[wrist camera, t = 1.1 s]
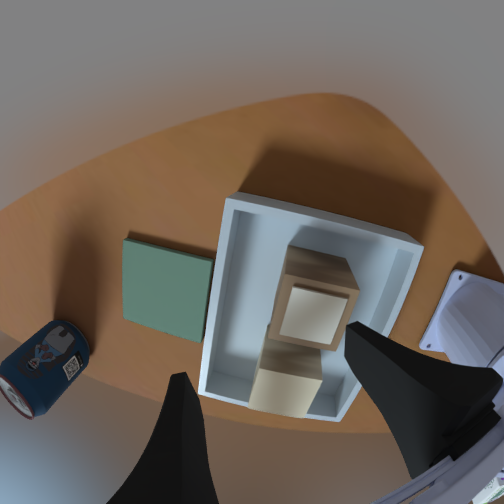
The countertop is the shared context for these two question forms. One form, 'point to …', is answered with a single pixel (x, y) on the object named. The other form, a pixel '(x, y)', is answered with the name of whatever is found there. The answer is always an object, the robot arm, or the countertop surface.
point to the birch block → (285, 378)
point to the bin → (266, 281)
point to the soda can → (43, 368)
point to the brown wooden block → (313, 299)
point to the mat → (165, 289)
